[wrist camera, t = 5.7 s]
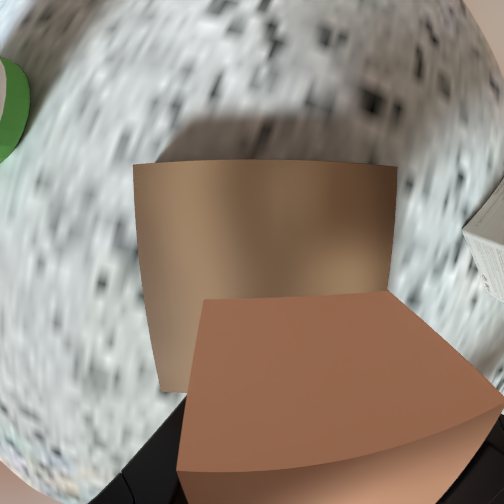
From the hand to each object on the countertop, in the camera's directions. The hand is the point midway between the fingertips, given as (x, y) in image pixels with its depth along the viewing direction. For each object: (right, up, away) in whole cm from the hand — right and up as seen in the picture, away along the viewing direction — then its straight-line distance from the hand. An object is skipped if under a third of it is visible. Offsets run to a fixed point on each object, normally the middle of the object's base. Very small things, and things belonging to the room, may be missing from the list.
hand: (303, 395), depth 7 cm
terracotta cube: (0, 0, +1) cm, 1 cm away
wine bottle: (-19, +13, +6) cm, 24 cm away
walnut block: (-1, +3, +11) cm, 11 cm away
